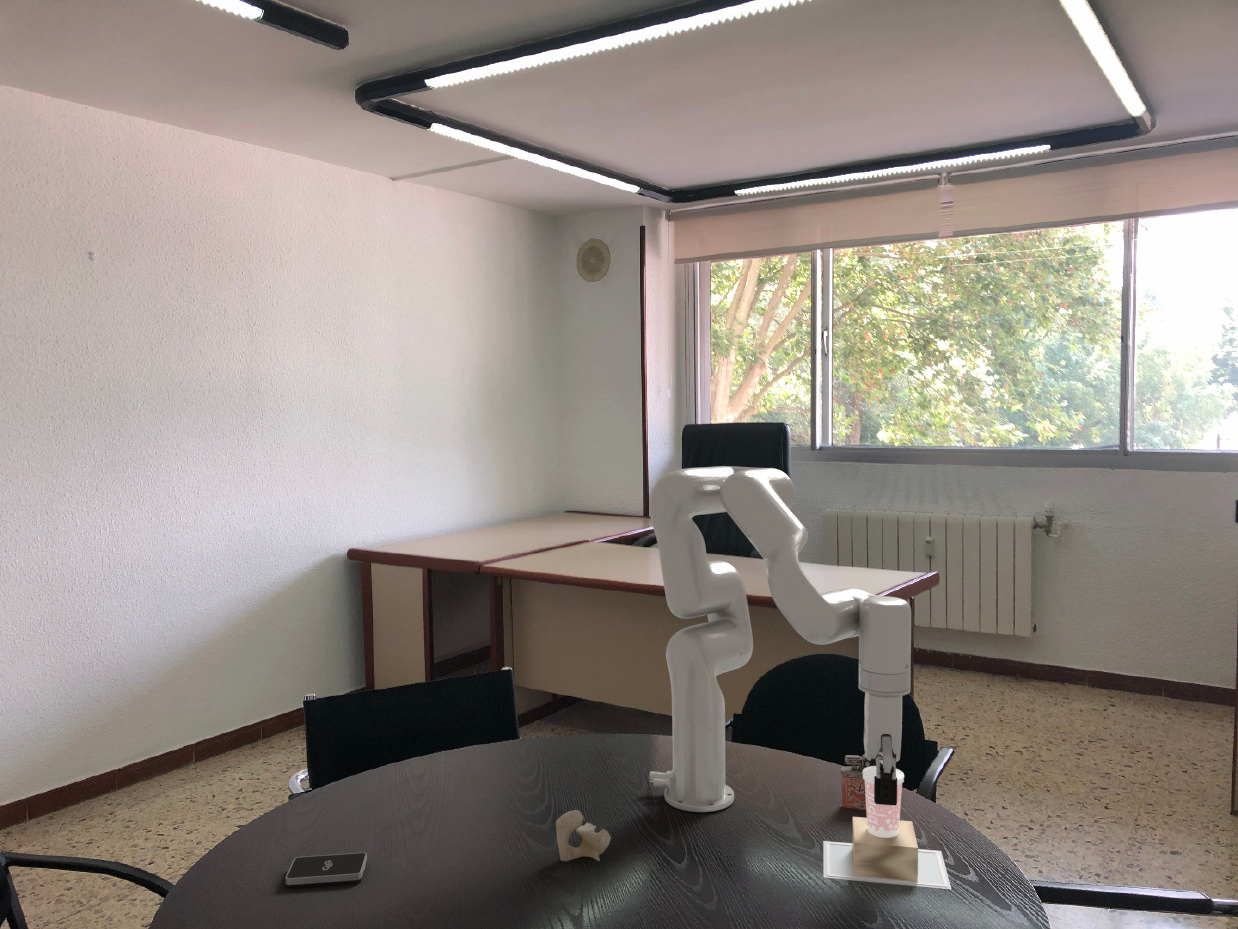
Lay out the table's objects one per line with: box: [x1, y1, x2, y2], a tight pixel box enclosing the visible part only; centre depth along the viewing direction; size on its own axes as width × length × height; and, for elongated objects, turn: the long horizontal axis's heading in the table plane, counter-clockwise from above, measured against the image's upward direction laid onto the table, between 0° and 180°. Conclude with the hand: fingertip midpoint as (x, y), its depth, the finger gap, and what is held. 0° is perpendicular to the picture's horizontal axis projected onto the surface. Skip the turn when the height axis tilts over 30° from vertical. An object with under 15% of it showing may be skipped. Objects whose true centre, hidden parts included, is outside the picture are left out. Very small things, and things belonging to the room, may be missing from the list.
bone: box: [555, 809, 612, 862], centre depth 147 cm, size 9×6×10 cm
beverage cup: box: [863, 755, 905, 838], centre depth 141 cm, size 6×6×14 cm
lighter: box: [840, 753, 871, 811], centre depth 162 cm, size 8×3×10 cm, turn 84°
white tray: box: [822, 840, 952, 891], centre depth 142 cm, size 18×12×1 cm, turn 78°
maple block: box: [852, 816, 919, 881], centre depth 142 cm, size 9×9×5 cm
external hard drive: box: [285, 852, 368, 890], centre depth 142 cm, size 7×11×2 cm, turn 97°
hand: (883, 790), depth 141 cm, fingers open, 9 cm apart
